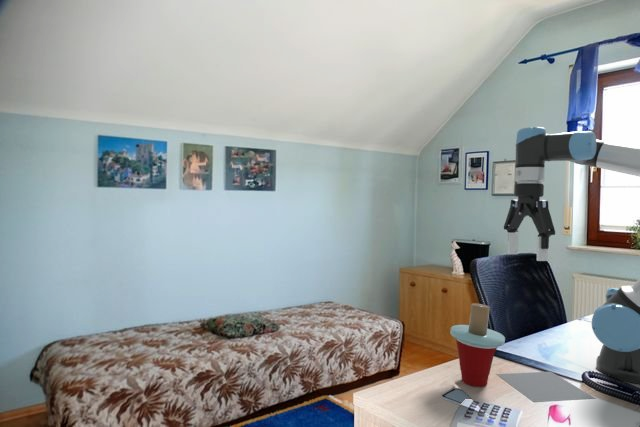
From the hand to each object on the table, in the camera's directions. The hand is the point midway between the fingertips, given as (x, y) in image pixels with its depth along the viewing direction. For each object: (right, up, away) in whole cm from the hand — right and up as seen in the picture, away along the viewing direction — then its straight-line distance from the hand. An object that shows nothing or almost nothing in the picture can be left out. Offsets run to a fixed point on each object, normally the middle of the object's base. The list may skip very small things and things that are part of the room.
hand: (526, 257), depth 126 cm
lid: (-19, -19, -14) cm, 30 cm away
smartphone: (-23, -32, -24) cm, 46 cm away
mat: (-3, -31, -15) cm, 35 cm away
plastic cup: (-20, -31, -14) cm, 39 cm away
